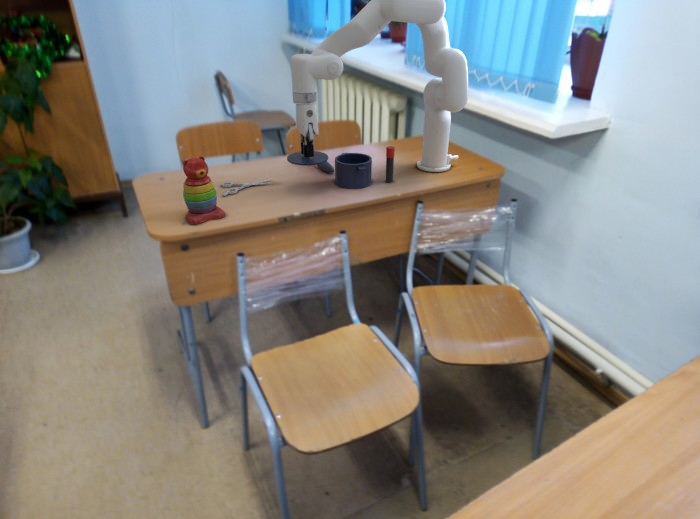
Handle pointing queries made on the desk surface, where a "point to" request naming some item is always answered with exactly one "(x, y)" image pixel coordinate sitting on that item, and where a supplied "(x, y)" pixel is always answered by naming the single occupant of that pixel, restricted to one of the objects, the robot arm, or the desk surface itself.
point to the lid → (307, 158)
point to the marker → (389, 163)
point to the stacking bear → (199, 192)
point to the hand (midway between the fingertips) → (307, 154)
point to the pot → (353, 170)
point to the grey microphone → (326, 167)
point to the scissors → (243, 185)
